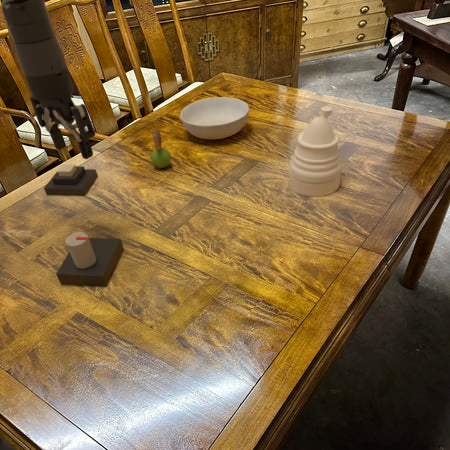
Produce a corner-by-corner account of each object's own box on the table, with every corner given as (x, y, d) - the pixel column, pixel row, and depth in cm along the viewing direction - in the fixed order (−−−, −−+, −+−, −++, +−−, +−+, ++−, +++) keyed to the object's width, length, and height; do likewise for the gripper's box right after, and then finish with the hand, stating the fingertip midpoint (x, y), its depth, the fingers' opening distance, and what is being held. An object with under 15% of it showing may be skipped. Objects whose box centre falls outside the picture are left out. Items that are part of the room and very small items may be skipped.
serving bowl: (202, 114, 141) (200, 93, 136) (259, 122, 134) (259, 100, 129) (170, 142, 129) (167, 120, 124) (232, 152, 121) (230, 129, 116)
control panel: (60, 284, 87) (55, 273, 85) (82, 247, 95) (78, 237, 93) (106, 286, 86) (102, 275, 83) (124, 249, 94) (120, 238, 92)
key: (59, 177, 111) (57, 171, 110) (65, 170, 114) (62, 164, 112) (72, 177, 111) (70, 171, 109) (77, 170, 113) (75, 164, 112)
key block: (46, 195, 112) (40, 182, 109) (61, 175, 119) (56, 162, 116) (85, 196, 111) (80, 182, 108) (98, 176, 117) (93, 163, 114)
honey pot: (314, 164, 113) (320, 95, 100) (350, 183, 106) (362, 111, 93) (278, 182, 109) (280, 111, 96) (313, 202, 101) (320, 129, 88)
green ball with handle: (152, 174, 116) (142, 132, 107) (154, 162, 120) (145, 121, 112) (171, 172, 116) (163, 130, 107) (172, 161, 120) (165, 119, 112)
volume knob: (71, 268, 86) (61, 244, 81) (79, 254, 89) (69, 230, 84) (92, 269, 85) (82, 244, 80) (99, 255, 88) (90, 231, 83)
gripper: (3, 68, 75) (38, 152, 87) (52, 79, 69) (83, 169, 81) (37, 55, 79) (66, 138, 91) (86, 65, 73) (111, 152, 85)
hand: (74, 152), depth 86 cm, fingers open, 8 cm apart
